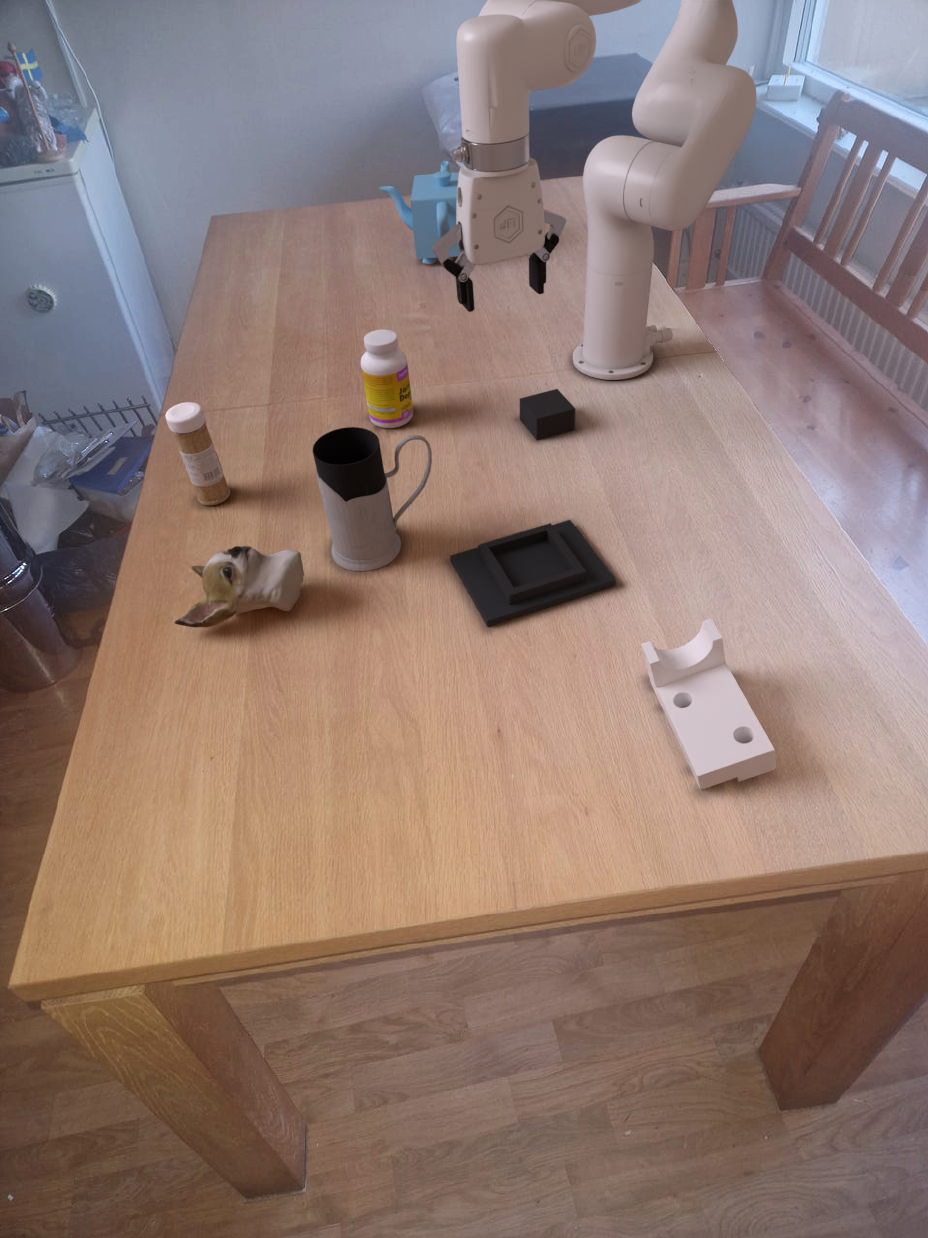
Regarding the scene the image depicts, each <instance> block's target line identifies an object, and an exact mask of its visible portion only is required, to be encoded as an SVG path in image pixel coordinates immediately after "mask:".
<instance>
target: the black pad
mask: <svg viewBox="0 0 928 1238" xmlns="http://www.w3.org/2000/svg"><path fill="white" fill-rule="evenodd" d="M519 420H520V422H521V423H522V424H523V425H524V427H525V428H526V429H527V430H528V432H529V433H530V434H531V435H532V437H533V438H534V439H535V440H536V441H539V440H543V439H546V438H550V437H553V436H558V435H561V434H564V433H568V432H573V431H575V429H576V407H575V406H574V405H573V404H572V403H571V402H570V401H569V399H567V397H566V396H565V395H563V393H562V392H561V391H560V390H559V389H558V388H554V389H551V390H547V391H543V392H539V393H535V394H532V395H527V396H524V397H520V398H519Z"/></svg>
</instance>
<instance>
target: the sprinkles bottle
mask: <svg viewBox="0 0 928 1238" xmlns="http://www.w3.org/2000/svg"><path fill="white" fill-rule="evenodd" d="M164 416H165V420H166V423H167V426H168V428H169V430H170V432H171V433H172V435H173V437H174V440H175V442H176V445H177V447H178V451H179V455H180V457H181V459H182V462H183V464H184V467H185V469H186V472H187V474H188V477H189V480H190V482H191V484H192V486H193V489H194V491H195V494H196V499H197V501H198V502H199V503H200V504H201V505H203V506H217V505H219V504H222V503H223V502H225V501H226V500H227V499H228V498H229V497H230V495H231V489H230V487H229V485H228V484H227V480H226V478H225V475H224V471H223V467H222V464H221V460H220V458H219V455H218V452H217V451H216V448H215V445H214V442H213V439H212V438H211V434H210V431H209V429H208V426H207V420H206V419H207V418H206V416H205V413H204V410H203V407H202V406H201V405H200V404H199V403H197V402H191V401H186V402H181V403H178V404H175V405H173V406H171V407H170V408H168V410H167V411H166V413H165V415H164Z"/></svg>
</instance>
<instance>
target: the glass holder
mask: <svg viewBox="0 0 928 1238" xmlns="http://www.w3.org/2000/svg"><path fill="white" fill-rule="evenodd" d="M416 440H417V441H418V440H420V441H421V442H424V443H425V446H426V450H427V461H426V467H425V471H424V474H423V477H422V479H421V480H420V483H419V485H418V486H417V487H416V489H415V490H414V492H413V493H412V494H411V496H410V497H409V498H408V499H407V501H405V503H403V505H402V506H401V507H400V508H399V510H398V511H397V512H396V513H395V514H393V508H392V502H391V495H390V490H389V484H388V479H389V478H391V477H394V476H396V475H397V473H398V472H399V470H400V453H401V450H402V449H403V447H404V446H405V445H406V444H407V443H409V442H410V441H416ZM380 443H381V442H380V438H379V437H378V435H377V434H376V433H375V432H373V431H372V430H369V429H367V428H364V427H359V426H357V427H356V426H348V427H341V428H337V429H333V430H331V431H328V432H326V433H324V434H323V435H321V436H320V437H319V438H317V440H316V441H314V444H313V445H312V455H313V460H314V464H315V475H316V479H317V483H318V487H319V491H320V496H321V500H322V504H323V508H324V512H325V517H326V521H327V526H328V529H329V534H330V537H331V542H332V545H331V549H330V551H331V553H330V554H331V557H332V560H333V561H334V562H335V563H336V564H337V565H338V566H339V567H341V568H342V569H345V570H348V571H351V572H352V571H353V572H369V571H375V570H377V569H380V568H383V567H385V566H387V565H389V564H390V563H391V562H393V561H394V560H395V559H396V558H397V556H398V555H399V554H400V551H401V549H402V541H401V537H400V535H398V533H397V532H396V528H397V527H398V525H397V522H398V520H399V519H400V517H401V516H402V515H403V514H404V513H405V512H406V511H407V509H408V508H409V507H410V506H411V505H412V504H413V503H414V501H415V500H416V499H417V498H418V497H419V495H420V494H421V493H422V492H423V490H424V488H425V487H426V484H427V482H428V480H429V477H430V473H431V469H432V464H433V458H432V457H433V455H432V448H431V444H430V443H429V441H428V440H427V439H426V437H424V436H422V435H419V434H411V435H407V436H405V437H403V438H402V439H401V440H400V441H399V442H398V444H397V446H396V447H395V450H394V468H393V469H392V470H391V471H388V472H385V468H384V463H383V455H382V450H381V444H380Z"/></svg>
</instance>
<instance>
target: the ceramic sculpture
mask: <svg viewBox="0 0 928 1238" xmlns="http://www.w3.org/2000/svg"><path fill="white" fill-rule="evenodd" d="M191 570H192V571H193V572H194V573H195V574H196V575H198V576H199V577H200V578H201V583H202V588H203V590H204V593H205V598H203V599H202V600H201V601H199V602H197V603H195V604H194V605H193V606H191V608H190V609H189V610H188V611H187V613H186V614H185V615H183V616H182V617H180V618H178V619H177V620H175V621H173V623H174V624H175V625H179V626H184V627H189V628H212V627H215V626H217V625H218V624H221V623H222V622H224V621H226V620H229V619H230V618H232V617H234V616H235V615H237V614H241V613H242V614H243V613H246V612H250V611H254V610H261V609H266V608H271V607H272V608H276V609H278V610H281V611H284V612H289V611H291V610H292V609H293V607H294V606H295V604H296V603H297V602H298V600H299V598H300V596H301V588H302V584H303V582H304V576H305V571H304V570H305V569H304V563H303V561H302V554H301V552H300V551H295V550H292V549H290V548H287V549H283V550H279V551H277V552H275V553H270V554H269V553H268V554H266V553H265V554H264V553H262V552H259V551H258V550H256V548H253V547H252V546H250V545H241V546H239V545H236V546H233V547H232V548H228V549H226V550H221V551H220V550H219V551H217V552H216V553H215V554H213V555H212V556H211V558H210V559H209V560H208V561H207V562H206V563H205V565H192V566H191Z"/></svg>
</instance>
